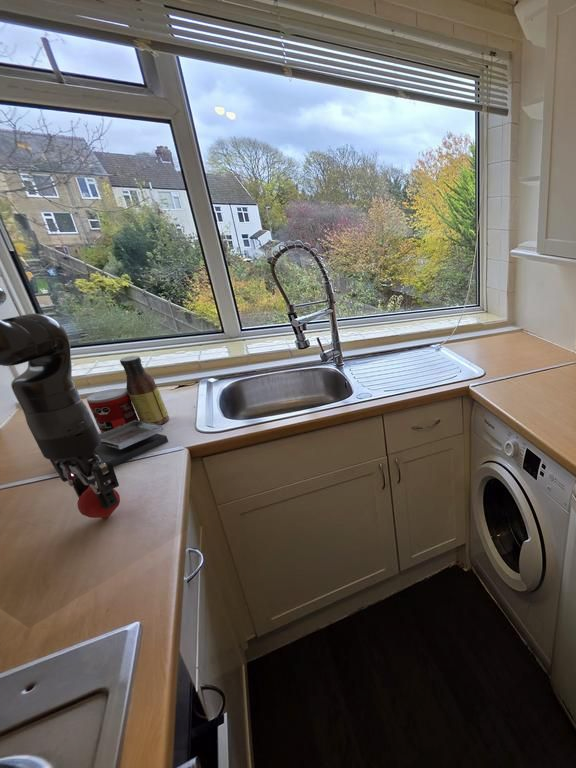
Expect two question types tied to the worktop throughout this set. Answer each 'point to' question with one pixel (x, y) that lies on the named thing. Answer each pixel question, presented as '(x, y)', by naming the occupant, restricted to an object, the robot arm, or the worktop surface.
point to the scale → (129, 450)
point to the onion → (94, 505)
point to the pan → (129, 434)
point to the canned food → (111, 408)
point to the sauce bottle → (143, 392)
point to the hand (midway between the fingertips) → (99, 502)
